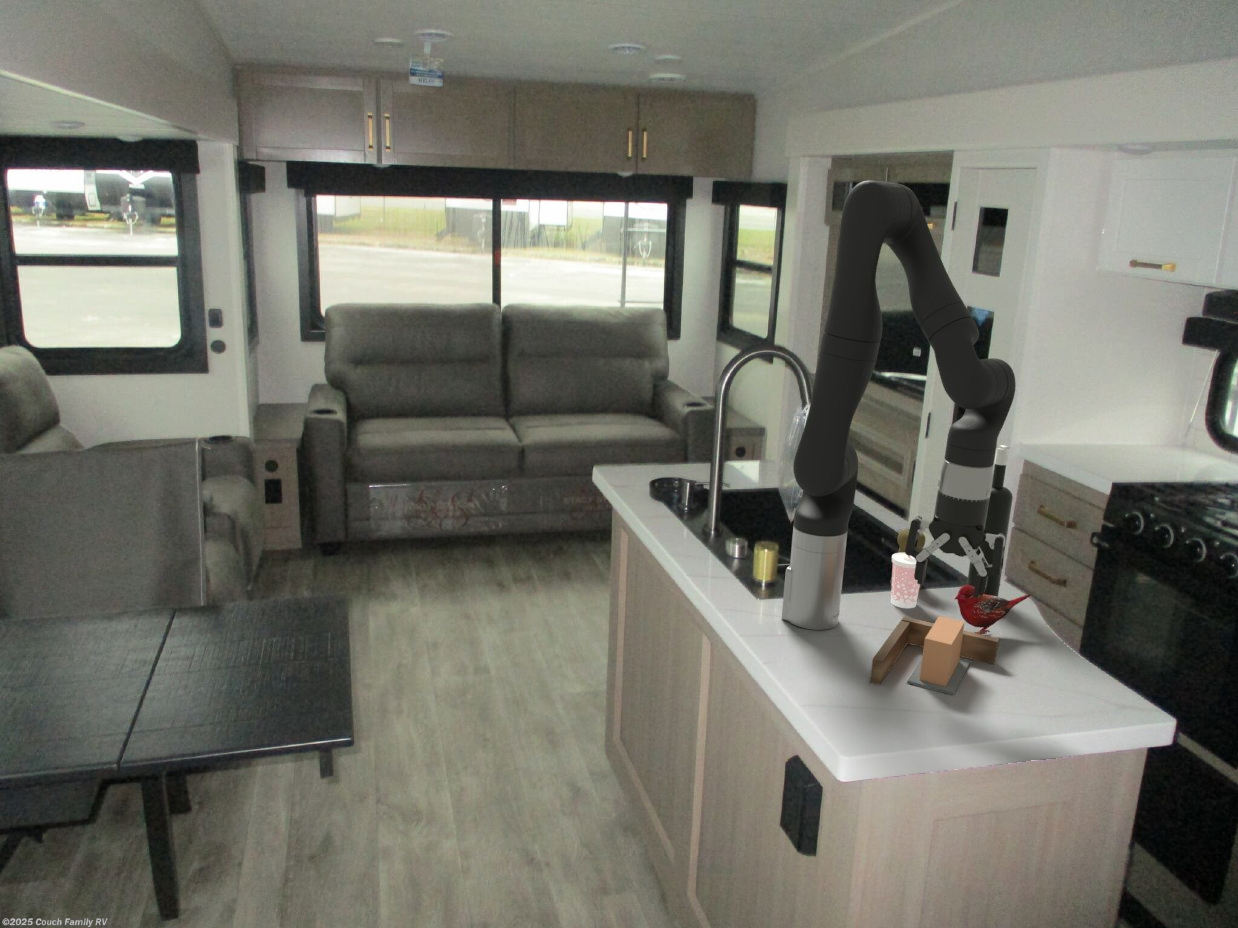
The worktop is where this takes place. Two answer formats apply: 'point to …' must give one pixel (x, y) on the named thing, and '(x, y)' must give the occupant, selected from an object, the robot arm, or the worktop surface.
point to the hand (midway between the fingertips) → (948, 589)
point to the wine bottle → (995, 519)
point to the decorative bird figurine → (983, 608)
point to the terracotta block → (941, 650)
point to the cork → (903, 541)
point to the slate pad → (948, 689)
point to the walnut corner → (915, 634)
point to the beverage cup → (904, 581)
